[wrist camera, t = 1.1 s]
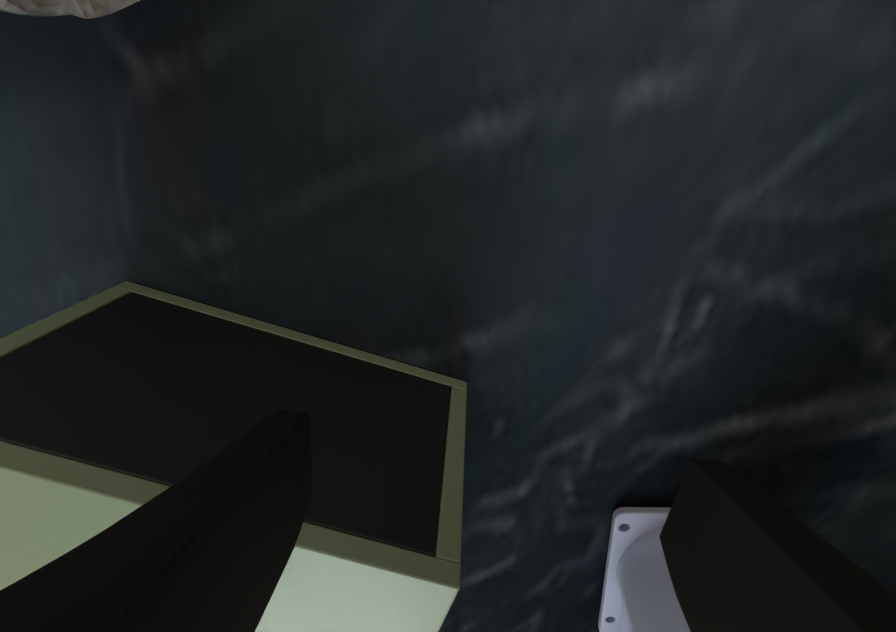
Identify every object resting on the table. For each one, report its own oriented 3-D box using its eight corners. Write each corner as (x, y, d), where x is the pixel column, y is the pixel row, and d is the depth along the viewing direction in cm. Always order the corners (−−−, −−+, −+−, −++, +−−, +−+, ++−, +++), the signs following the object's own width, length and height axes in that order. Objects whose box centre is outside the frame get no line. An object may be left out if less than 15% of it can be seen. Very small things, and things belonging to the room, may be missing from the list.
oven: (399, 558, 24) (357, 799, 16) (125, 485, 23) (-81, 699, 15) (467, 381, 20) (460, 589, 11) (126, 279, 19) (-180, 420, 10)
